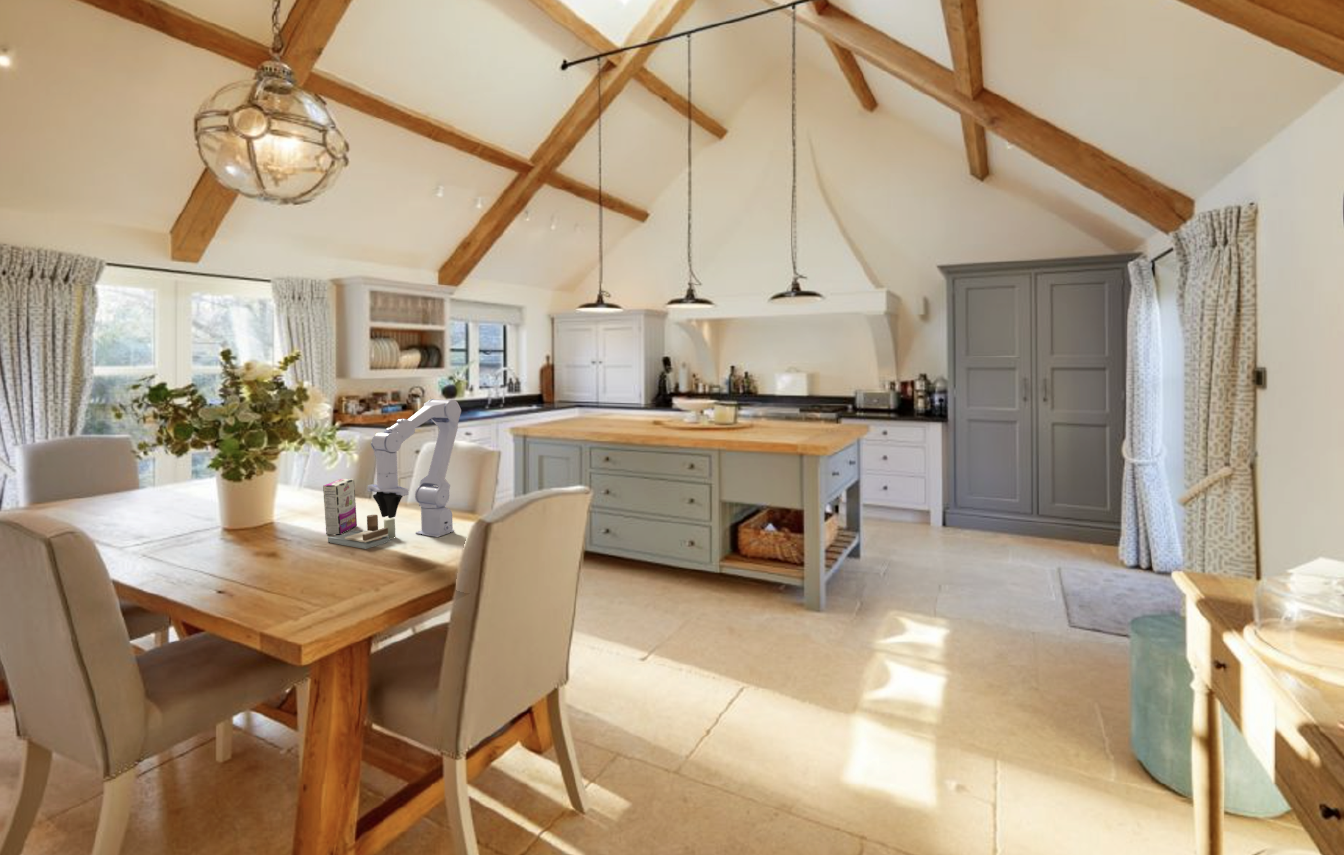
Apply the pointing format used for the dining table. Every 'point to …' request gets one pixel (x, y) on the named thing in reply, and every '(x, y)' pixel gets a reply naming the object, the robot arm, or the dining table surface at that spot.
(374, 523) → the walnut peg
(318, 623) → the dining table surface
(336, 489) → the candy bar box
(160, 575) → the dining table surface
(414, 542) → the dining table surface
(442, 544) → the dining table surface
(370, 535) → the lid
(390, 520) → the sage peg
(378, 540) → the board
